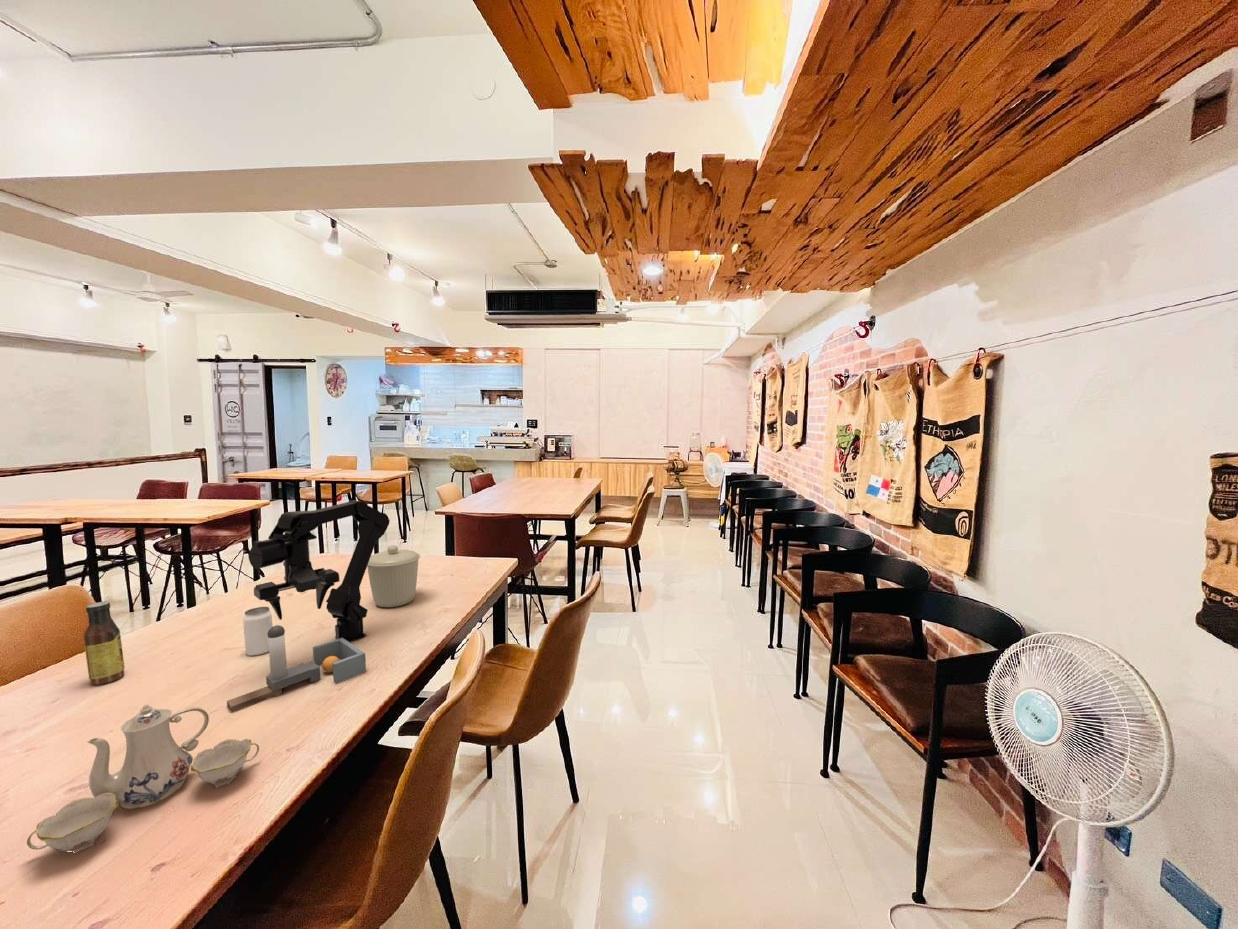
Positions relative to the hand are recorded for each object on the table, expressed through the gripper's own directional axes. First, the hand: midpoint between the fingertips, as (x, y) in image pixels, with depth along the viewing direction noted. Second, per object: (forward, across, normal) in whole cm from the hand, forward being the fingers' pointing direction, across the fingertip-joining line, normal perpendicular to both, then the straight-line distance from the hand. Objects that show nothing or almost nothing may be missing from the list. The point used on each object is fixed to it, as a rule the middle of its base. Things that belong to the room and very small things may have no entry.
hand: (300, 613), depth 130 cm
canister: (+13, +36, +21) cm, 44 cm away
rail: (+13, -14, -13) cm, 23 cm away
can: (+13, -6, +15) cm, 21 cm away
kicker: (+13, -6, -13) cm, 19 cm away
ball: (+11, +2, -13) cm, 17 cm away
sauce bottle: (+13, -35, +27) cm, 46 cm away
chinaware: (+13, -34, -35) cm, 51 cm away
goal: (+13, +4, -13) cm, 19 cm away
